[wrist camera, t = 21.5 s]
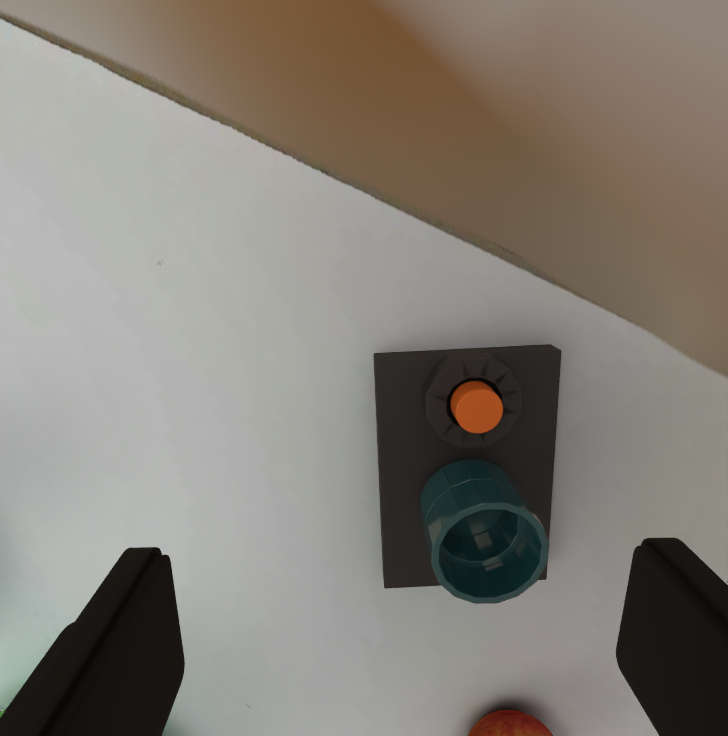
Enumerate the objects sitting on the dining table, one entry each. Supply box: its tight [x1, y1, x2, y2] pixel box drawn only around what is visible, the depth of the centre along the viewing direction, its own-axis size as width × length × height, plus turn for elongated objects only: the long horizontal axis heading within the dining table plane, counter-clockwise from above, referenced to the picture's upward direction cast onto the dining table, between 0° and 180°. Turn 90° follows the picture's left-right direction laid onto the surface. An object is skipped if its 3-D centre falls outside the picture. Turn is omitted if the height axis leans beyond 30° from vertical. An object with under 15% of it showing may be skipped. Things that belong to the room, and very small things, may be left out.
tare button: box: [451, 381, 503, 433], centre depth 27 cm, size 3×3×2 cm
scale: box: [374, 344, 561, 588], centre depth 30 cm, size 16×11×3 cm
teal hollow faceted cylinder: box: [419, 459, 549, 604], centre depth 28 cm, size 6×6×6 cm
